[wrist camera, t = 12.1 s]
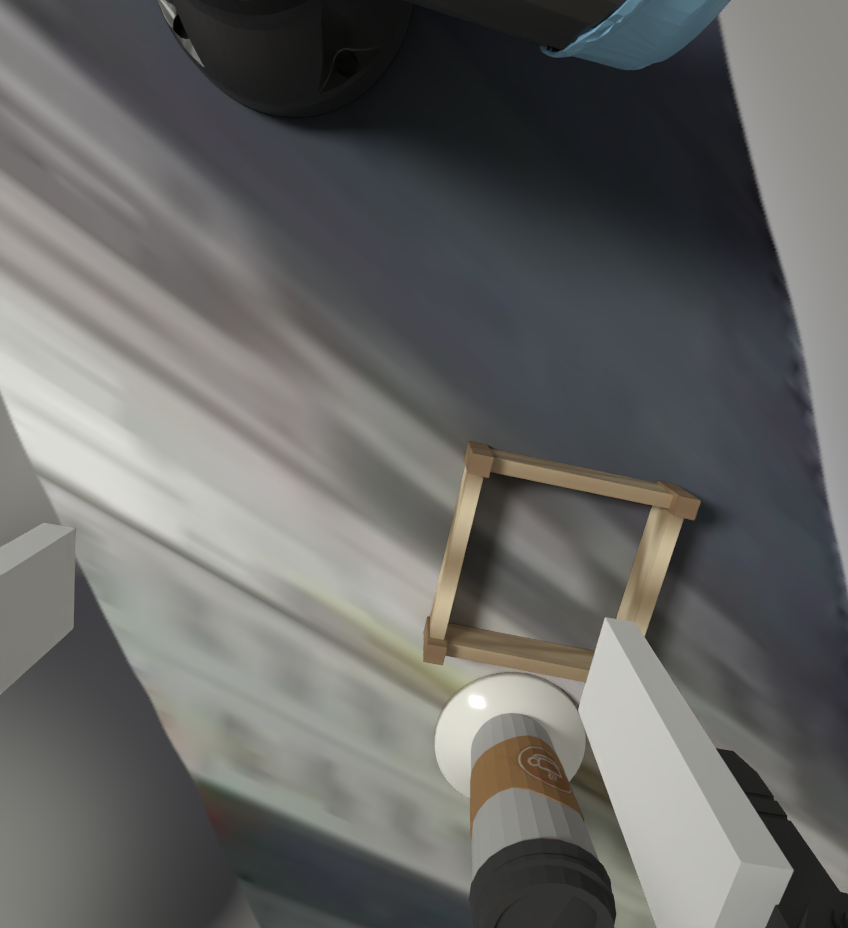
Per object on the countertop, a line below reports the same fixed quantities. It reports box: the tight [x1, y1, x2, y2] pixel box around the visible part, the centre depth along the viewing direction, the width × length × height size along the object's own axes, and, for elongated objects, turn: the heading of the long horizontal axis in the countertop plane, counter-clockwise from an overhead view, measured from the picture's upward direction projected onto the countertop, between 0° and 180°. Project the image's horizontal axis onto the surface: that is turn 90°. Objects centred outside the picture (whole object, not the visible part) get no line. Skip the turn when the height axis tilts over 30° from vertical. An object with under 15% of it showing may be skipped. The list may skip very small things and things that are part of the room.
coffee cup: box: [469, 713, 616, 928], centre depth 39 cm, size 8×8×15 cm
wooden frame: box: [423, 441, 701, 682], centre depth 42 cm, size 15×15×4 cm
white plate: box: [435, 672, 586, 799], centre depth 47 cm, size 12×12×1 cm
